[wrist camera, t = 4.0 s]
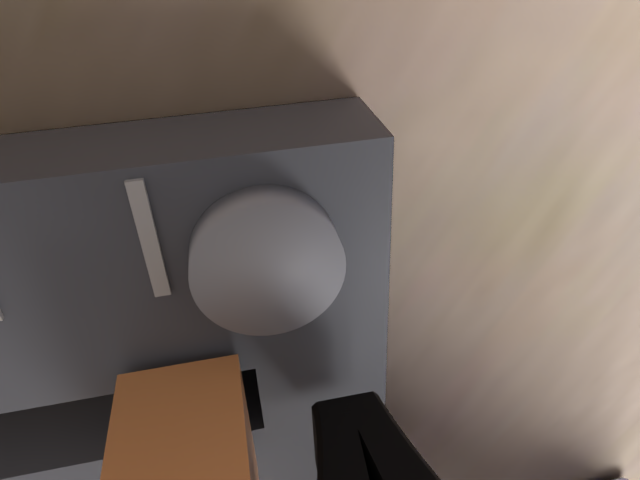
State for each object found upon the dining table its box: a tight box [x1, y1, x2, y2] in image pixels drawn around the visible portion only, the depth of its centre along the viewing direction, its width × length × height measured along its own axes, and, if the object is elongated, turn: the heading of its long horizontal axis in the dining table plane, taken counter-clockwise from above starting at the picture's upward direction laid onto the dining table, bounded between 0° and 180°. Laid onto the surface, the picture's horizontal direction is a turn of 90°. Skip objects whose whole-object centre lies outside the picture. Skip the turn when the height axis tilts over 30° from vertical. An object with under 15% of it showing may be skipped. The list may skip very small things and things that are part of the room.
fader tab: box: [100, 354, 259, 480], centre depth 11 cm, size 2×4×6 cm, turn 3°
